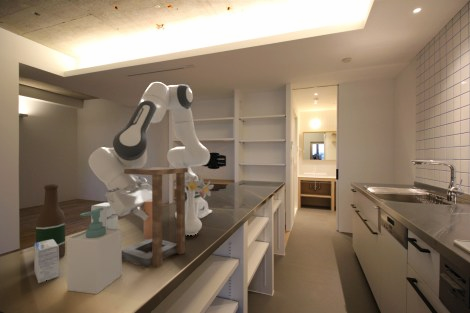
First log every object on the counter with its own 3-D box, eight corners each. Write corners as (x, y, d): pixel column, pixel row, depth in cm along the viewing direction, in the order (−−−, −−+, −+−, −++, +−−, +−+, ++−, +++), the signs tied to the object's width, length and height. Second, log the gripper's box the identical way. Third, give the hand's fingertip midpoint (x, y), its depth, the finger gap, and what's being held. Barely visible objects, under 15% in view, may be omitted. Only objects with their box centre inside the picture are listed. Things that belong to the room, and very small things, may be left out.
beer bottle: (41, 265, 65) (41, 186, 66) (30, 259, 69) (30, 185, 69) (70, 255, 72) (70, 183, 72) (59, 250, 76) (59, 182, 76)
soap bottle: (65, 291, 53) (65, 213, 53) (95, 272, 61) (95, 205, 61) (96, 295, 51) (96, 214, 51) (122, 275, 60) (122, 206, 60)
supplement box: (105, 236, 89) (105, 206, 89) (90, 235, 91) (90, 205, 91) (118, 230, 97) (118, 202, 97) (104, 229, 98) (104, 202, 98)
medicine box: (59, 277, 59) (59, 245, 59) (37, 284, 56) (37, 250, 56) (54, 267, 64) (54, 238, 64) (33, 273, 61) (33, 242, 61)
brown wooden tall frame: (156, 242, 83) (155, 167, 83) (188, 251, 75) (187, 168, 75) (120, 258, 70) (119, 168, 70) (154, 270, 62) (153, 170, 62)
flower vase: (206, 241, 84) (206, 177, 84) (165, 236, 89) (165, 176, 90) (218, 230, 97) (218, 174, 97) (181, 226, 102) (181, 173, 102)
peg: (150, 234, 75) (150, 199, 75) (158, 236, 73) (158, 200, 73) (141, 237, 72) (140, 201, 72) (149, 240, 70) (149, 203, 70)
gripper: (108, 184, 63) (139, 218, 62) (147, 177, 84) (171, 203, 82) (95, 198, 64) (125, 233, 63) (137, 189, 84) (160, 214, 83)
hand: (151, 216), depth 72 cm, fingers closed on peg, 4 cm apart
